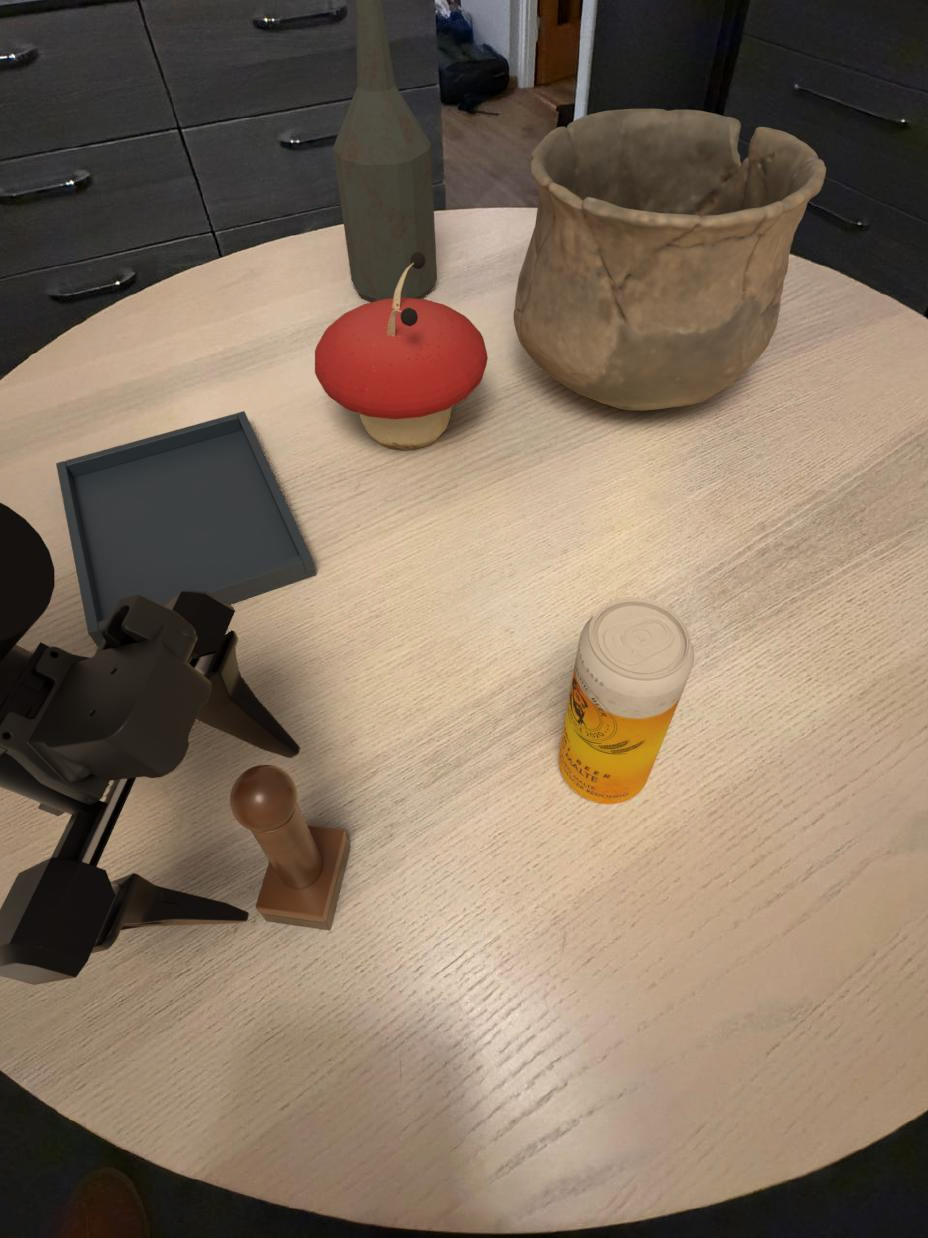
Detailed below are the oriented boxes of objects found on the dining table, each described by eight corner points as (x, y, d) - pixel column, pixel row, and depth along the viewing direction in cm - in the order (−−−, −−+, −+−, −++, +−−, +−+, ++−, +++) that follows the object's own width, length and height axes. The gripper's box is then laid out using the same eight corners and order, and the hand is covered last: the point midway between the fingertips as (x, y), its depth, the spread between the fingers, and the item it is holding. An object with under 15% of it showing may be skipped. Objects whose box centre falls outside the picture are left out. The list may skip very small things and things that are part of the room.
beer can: (542, 746, 52) (560, 612, 40) (618, 716, 53) (658, 577, 41) (584, 823, 48) (618, 701, 36) (665, 788, 50) (723, 660, 38)
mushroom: (485, 481, 69) (487, 332, 57) (315, 479, 69) (282, 331, 57) (488, 380, 78) (489, 235, 66) (339, 379, 79) (314, 234, 67)
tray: (99, 649, 58) (87, 633, 56) (65, 480, 70) (55, 462, 68) (316, 575, 62) (312, 558, 60) (249, 428, 74) (244, 410, 72)
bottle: (436, 264, 94) (421, -52, 70) (438, 305, 88) (423, -26, 64) (354, 267, 94) (311, -48, 70) (350, 309, 88) (303, -21, 64)
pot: (721, 316, 85) (781, 98, 68) (781, 448, 71) (876, 213, 54) (504, 322, 85) (510, 105, 68) (519, 456, 71) (532, 223, 54)
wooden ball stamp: (330, 931, 44) (281, 842, 33) (265, 921, 45) (196, 830, 34) (350, 846, 48) (312, 740, 37) (290, 838, 48) (233, 730, 37)
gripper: (-133, 887, 21) (309, 1019, 29) (132, 463, 33) (400, 638, 40) (-185, 928, 28) (181, 1026, 36) (48, 567, 40) (290, 699, 47)
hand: (271, 830), depth 40 cm, fingers open, 9 cm apart
